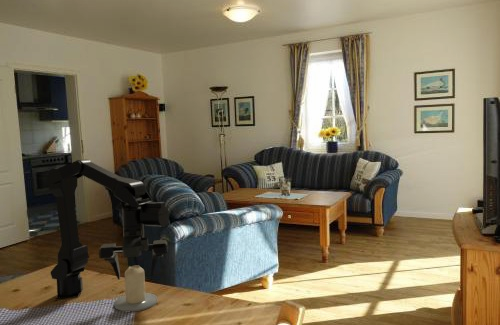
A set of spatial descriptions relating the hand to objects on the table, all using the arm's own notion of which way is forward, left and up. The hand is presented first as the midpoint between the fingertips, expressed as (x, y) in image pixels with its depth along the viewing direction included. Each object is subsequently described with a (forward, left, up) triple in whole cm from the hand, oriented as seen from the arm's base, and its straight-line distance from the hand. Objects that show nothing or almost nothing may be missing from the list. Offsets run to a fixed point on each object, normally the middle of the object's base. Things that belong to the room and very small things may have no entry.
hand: (135, 277), depth 117 cm
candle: (0, 0, -7) cm, 7 cm away
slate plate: (0, 0, -8) cm, 8 cm away
